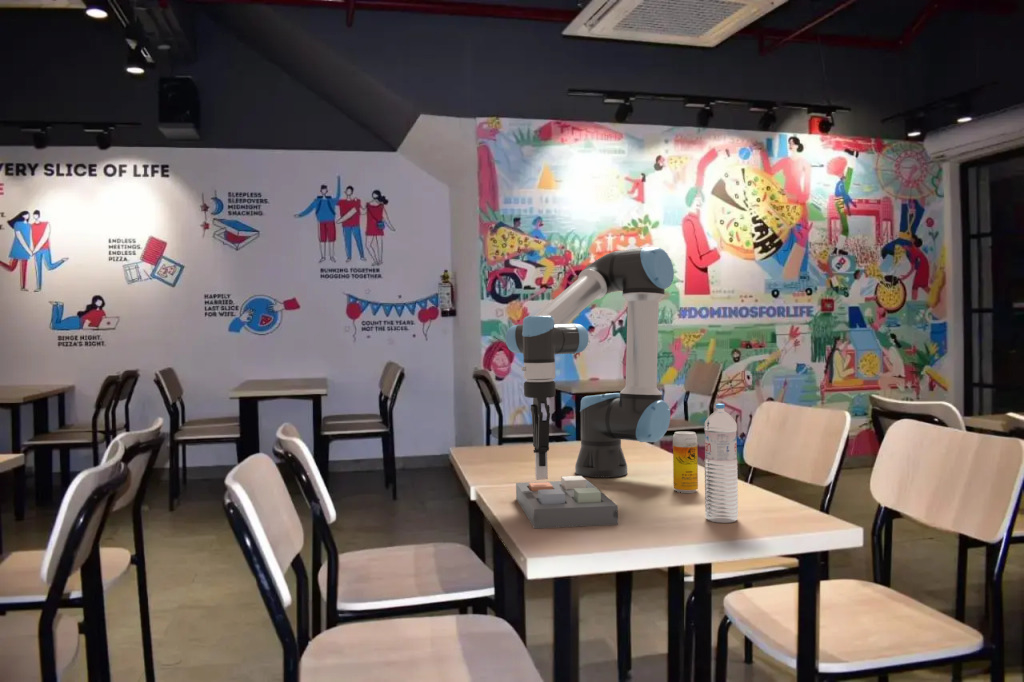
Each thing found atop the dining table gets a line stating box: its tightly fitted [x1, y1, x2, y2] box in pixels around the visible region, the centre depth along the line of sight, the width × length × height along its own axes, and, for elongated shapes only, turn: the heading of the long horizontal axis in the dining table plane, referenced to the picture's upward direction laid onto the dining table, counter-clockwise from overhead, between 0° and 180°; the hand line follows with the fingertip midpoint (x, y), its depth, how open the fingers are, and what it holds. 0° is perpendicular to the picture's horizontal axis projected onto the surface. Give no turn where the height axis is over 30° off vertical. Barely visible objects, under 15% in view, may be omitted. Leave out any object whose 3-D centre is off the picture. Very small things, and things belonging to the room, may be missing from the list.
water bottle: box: [703, 403, 739, 524], centre depth 156 cm, size 7×7×25 cm
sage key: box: [574, 487, 602, 503], centre depth 159 cm, size 5×5×3 cm
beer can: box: [672, 430, 699, 494], centre depth 185 cm, size 6×6×15 cm
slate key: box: [538, 489, 565, 505], centre depth 158 cm, size 5×5×3 cm
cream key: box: [560, 475, 587, 490], centre depth 173 cm, size 5×5×3 cm
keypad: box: [515, 479, 619, 529], centre depth 166 cm, size 18×28×4 cm, turn 7°
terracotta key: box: [529, 481, 553, 491], centre depth 172 cm, size 5×5×3 cm
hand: (541, 478), depth 172 cm, fingers closed
